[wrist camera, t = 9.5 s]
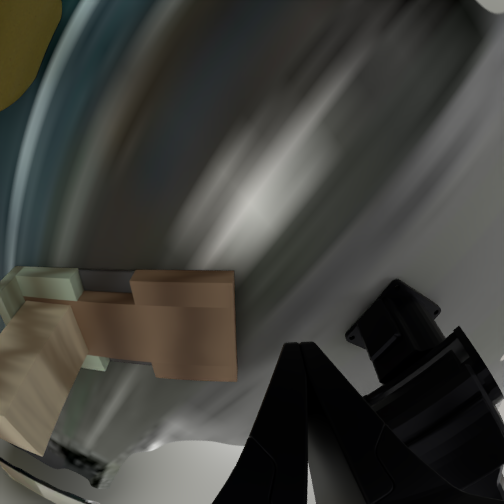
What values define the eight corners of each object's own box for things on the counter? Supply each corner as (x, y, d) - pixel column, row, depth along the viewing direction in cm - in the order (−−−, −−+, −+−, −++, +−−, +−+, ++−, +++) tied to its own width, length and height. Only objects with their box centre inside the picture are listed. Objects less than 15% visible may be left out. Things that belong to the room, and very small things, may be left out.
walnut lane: (234, 270, 21) (231, 307, 18) (237, 368, 26) (236, 405, 22) (15, 266, 21) (-10, 291, 17) (51, 350, 26) (35, 378, 22)
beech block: (70, 305, 21) (4, 416, 11) (88, 351, 23) (42, 456, 13) (26, 300, 21) (-41, 394, 11) (46, 343, 23) (-4, 436, 13)
